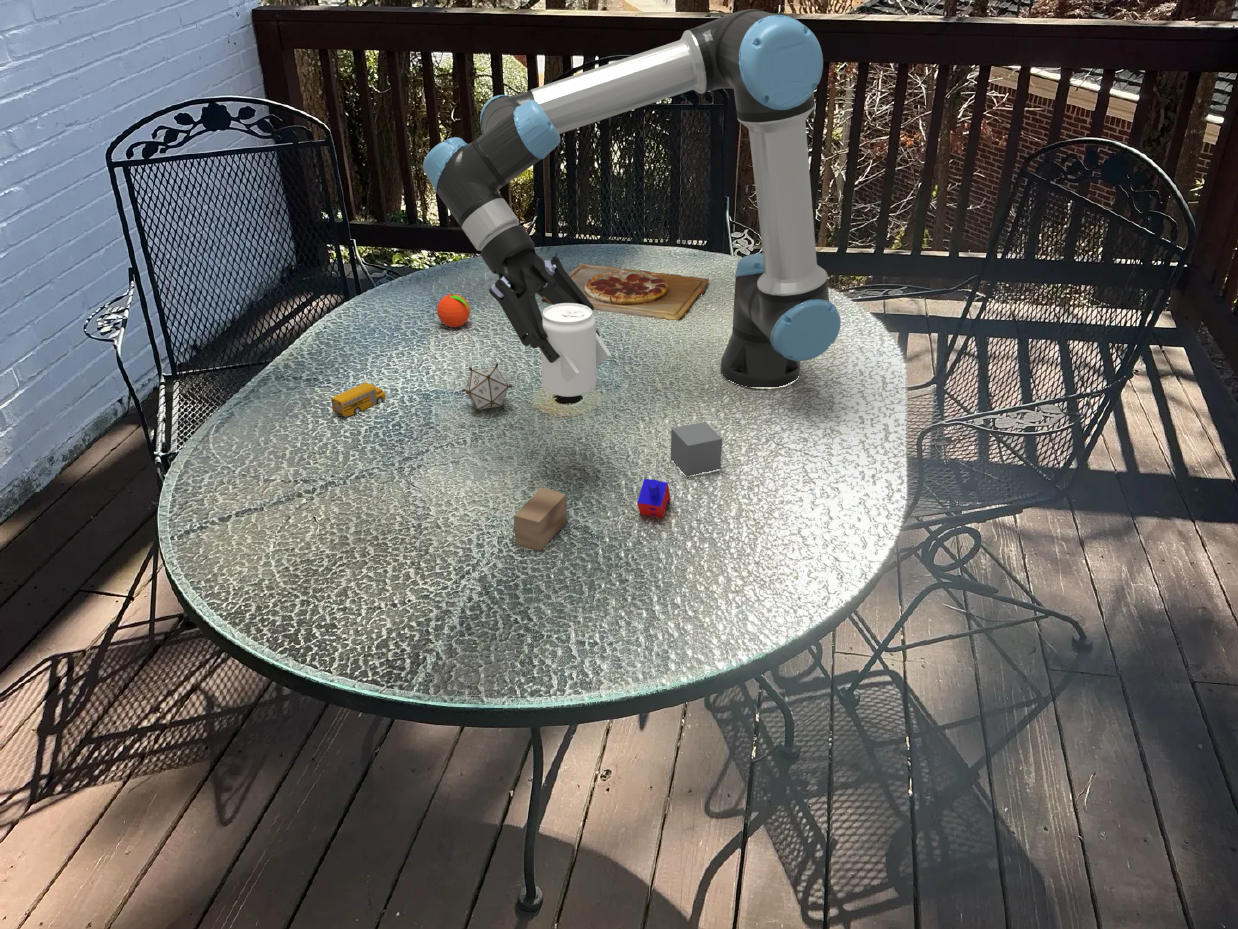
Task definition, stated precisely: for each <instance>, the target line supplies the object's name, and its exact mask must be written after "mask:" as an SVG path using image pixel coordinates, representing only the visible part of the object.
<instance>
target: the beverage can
mask: <svg viewBox="0 0 1238 929" xmlns="http://www.w3.org/2000/svg"><path fill="white" fill-rule="evenodd" d="M541 315H542V318H543V328H544V330H545V332H546V333H547V336H548V337H547V340H548V342H549V343H550V345H551V346H552V347H553V349H554V350H555V351H556V352H557V353H558V354H559V355H560V356H561V352H562V353H563V354H565V355H566V356H567V357H569V358H570V359H571V360H572V362H573V363H574V365H575V366H576V367H577V369H578V370H579V373H578V374H577V375H576V376H575V377H573V378H572V379H571V380H570V381H568V382H566V381H565V380H564V378H563V377H562V375H561V357H559V358H558V359H557V360H556V361H555V362H553V363H550V362H549V361H548V360H547V358H546V357H545V355H544V354H543V352H542V351H541V350H540V359H541V362H540V363H541V364H540V365H541V366H540V367H541V383H542V384H541V385H542V387H543V389H544V390H545V391H546V392H548V393H551V395H552V394H553V395H556V396H560V397H567V398H569V397H570V398H571V397H577V396H581V395H585V394H587V393H589V392H591V391H593V390H594V388H595V387H596V386H597V362H596V330H597V322H596V317H595V316H594V314H593V310H591V309H590V308H589V307H587V306H585V305H581V304H575V303H561V304H555V305H553V304H551V305H550V306H547V307H545V308H544V309H543V311H542V314H541Z"/></svg>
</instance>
